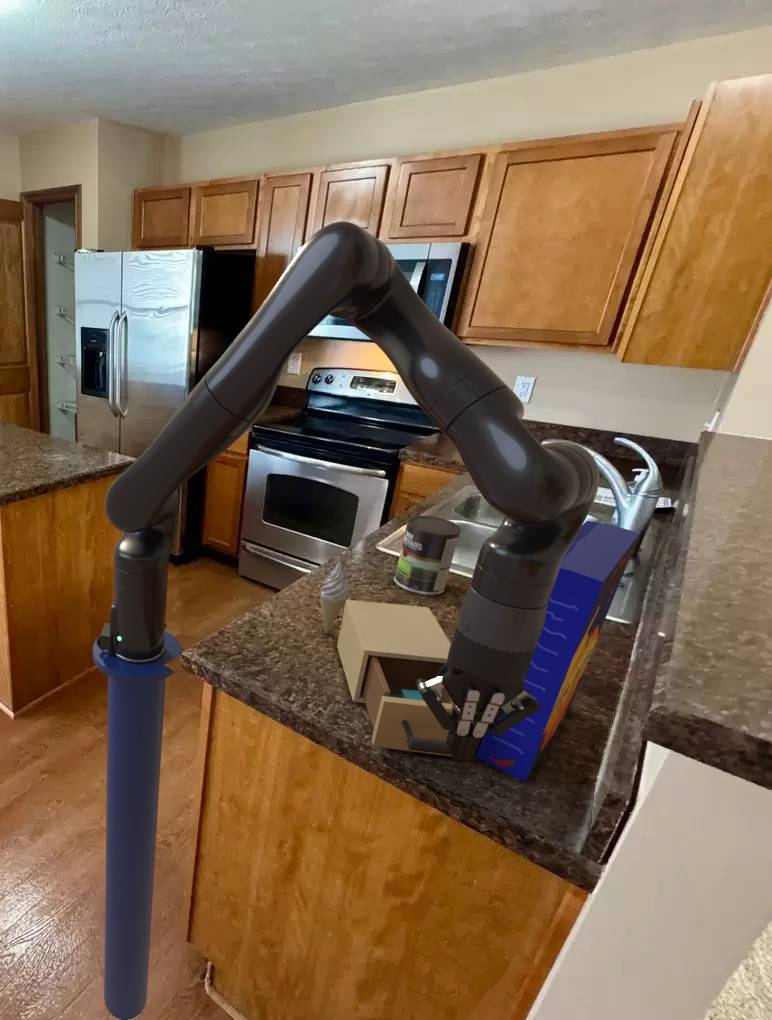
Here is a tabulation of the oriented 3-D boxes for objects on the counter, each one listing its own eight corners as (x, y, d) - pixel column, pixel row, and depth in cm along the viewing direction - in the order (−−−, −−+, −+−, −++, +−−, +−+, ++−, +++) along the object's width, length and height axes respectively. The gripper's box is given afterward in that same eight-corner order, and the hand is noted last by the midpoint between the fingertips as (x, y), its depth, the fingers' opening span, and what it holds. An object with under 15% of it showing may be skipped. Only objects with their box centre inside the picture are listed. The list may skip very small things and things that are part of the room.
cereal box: (525, 782, 78) (603, 579, 66) (476, 757, 82) (542, 562, 70) (568, 709, 92) (640, 531, 80) (525, 691, 96) (587, 518, 84)
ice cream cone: (346, 635, 110) (361, 562, 104) (328, 643, 108) (342, 569, 102) (324, 622, 114) (337, 551, 108) (306, 630, 111) (319, 558, 105)
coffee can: (409, 596, 125) (424, 534, 119) (384, 574, 134) (397, 515, 128) (455, 594, 126) (472, 533, 120) (427, 572, 135) (442, 514, 129)
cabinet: (445, 712, 91) (461, 660, 87) (353, 701, 93) (364, 650, 89) (416, 654, 105) (429, 607, 101) (336, 646, 107) (346, 599, 103)
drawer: (482, 786, 76) (498, 739, 73) (381, 773, 78) (393, 726, 75) (434, 691, 94) (446, 650, 91) (353, 682, 96) (362, 641, 93)
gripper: (547, 617, 66) (504, 739, 73) (421, 606, 68) (391, 726, 75) (583, 656, 59) (532, 787, 66) (442, 642, 61) (407, 771, 68)
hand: (457, 754), depth 70 cm, fingers closed
